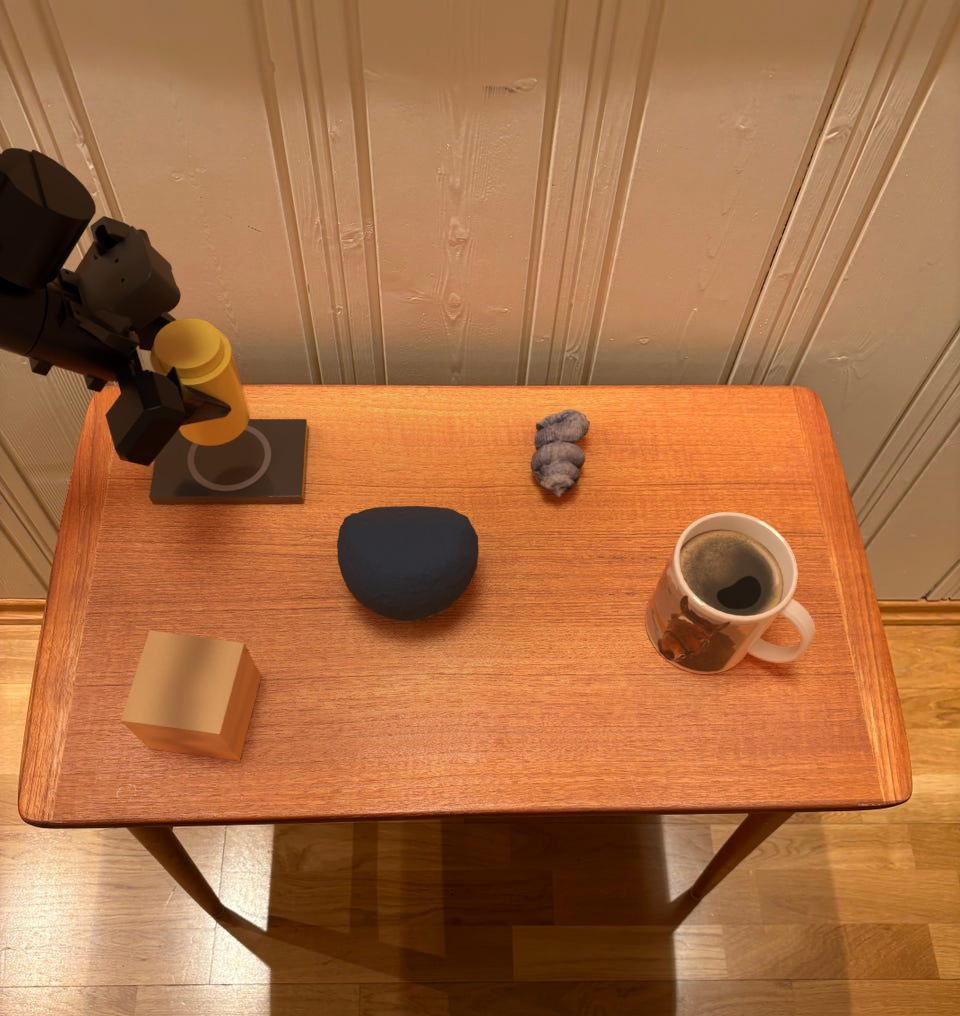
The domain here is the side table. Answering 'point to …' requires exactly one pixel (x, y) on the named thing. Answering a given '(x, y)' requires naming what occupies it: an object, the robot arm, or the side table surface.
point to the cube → (192, 695)
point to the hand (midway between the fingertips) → (218, 381)
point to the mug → (726, 596)
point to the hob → (235, 467)
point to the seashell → (559, 451)
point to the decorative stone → (407, 559)
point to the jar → (203, 375)
